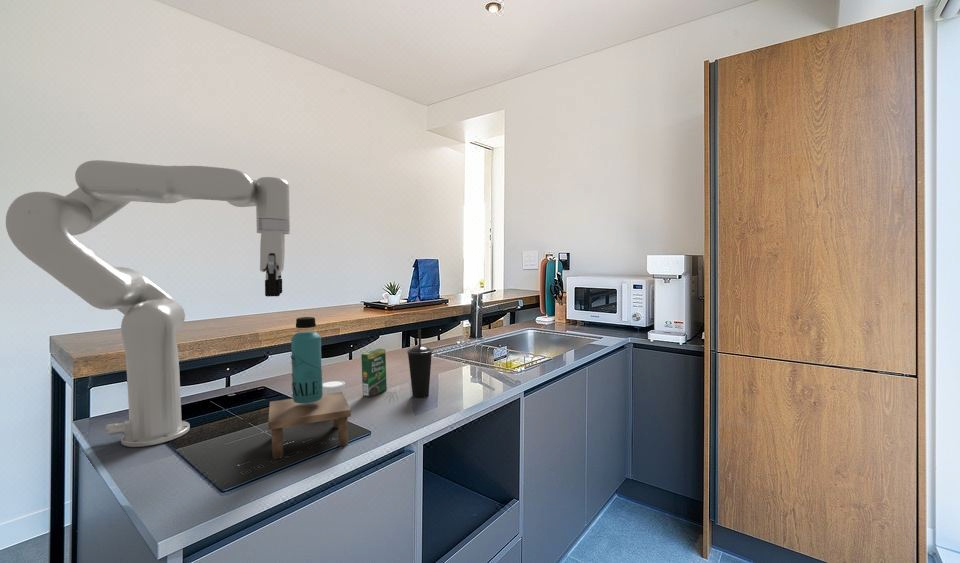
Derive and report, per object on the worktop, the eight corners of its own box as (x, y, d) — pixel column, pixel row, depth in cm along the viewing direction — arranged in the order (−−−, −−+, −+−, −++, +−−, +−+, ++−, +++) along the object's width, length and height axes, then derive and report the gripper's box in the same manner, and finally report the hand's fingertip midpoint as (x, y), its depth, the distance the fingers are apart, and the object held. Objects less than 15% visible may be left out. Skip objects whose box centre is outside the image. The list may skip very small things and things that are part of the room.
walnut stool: (269, 461, 84) (268, 422, 83) (270, 435, 96) (269, 401, 96) (351, 445, 91) (350, 409, 90) (342, 423, 103) (341, 391, 103)
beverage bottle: (314, 398, 98) (311, 314, 97) (329, 404, 93) (327, 316, 92) (286, 406, 93) (283, 317, 92) (301, 413, 88) (298, 320, 87)
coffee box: (368, 398, 122) (367, 354, 121) (361, 396, 124) (360, 353, 123) (387, 390, 129) (386, 349, 128) (380, 389, 131) (379, 348, 130)
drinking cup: (403, 398, 122) (402, 330, 121) (413, 390, 129) (412, 326, 128) (428, 400, 120) (426, 331, 119) (436, 392, 127) (436, 327, 126)
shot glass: (337, 414, 109) (337, 388, 109) (314, 412, 111) (313, 386, 110) (350, 405, 116) (350, 380, 116) (328, 403, 118) (327, 379, 117)
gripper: (260, 229, 112) (261, 292, 112) (252, 224, 96) (253, 297, 96) (290, 230, 114) (291, 292, 115) (287, 225, 98) (288, 297, 99)
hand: (274, 294), depth 106 cm, fingers open, 9 cm apart
